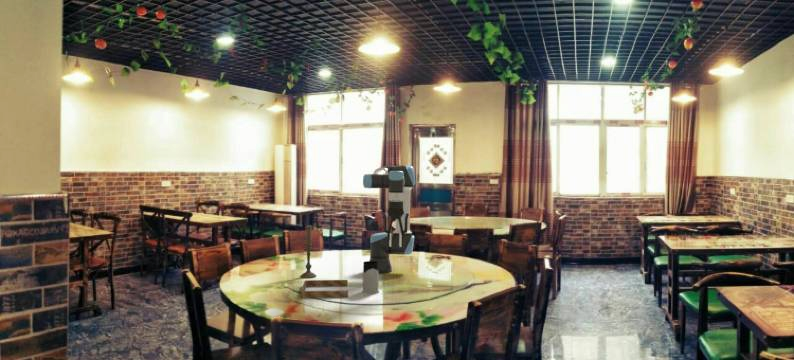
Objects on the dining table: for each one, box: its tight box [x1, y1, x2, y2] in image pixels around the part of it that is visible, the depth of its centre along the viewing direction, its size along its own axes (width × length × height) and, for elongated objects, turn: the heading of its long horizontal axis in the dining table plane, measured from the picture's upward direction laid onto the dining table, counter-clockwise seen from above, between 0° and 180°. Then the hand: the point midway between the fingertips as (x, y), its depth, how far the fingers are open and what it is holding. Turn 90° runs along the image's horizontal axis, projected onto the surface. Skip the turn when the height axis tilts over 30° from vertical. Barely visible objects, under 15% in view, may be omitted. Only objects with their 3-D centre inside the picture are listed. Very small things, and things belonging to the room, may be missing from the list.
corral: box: [300, 279, 349, 299], centre depth 246 cm, size 22×24×3 cm
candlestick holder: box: [299, 225, 317, 279], centre depth 279 cm, size 9×9×30 cm
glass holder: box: [361, 260, 380, 295], centre depth 248 cm, size 9×14×15 cm, turn 15°
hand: (395, 246), depth 250 cm, fingers open, 4 cm apart
